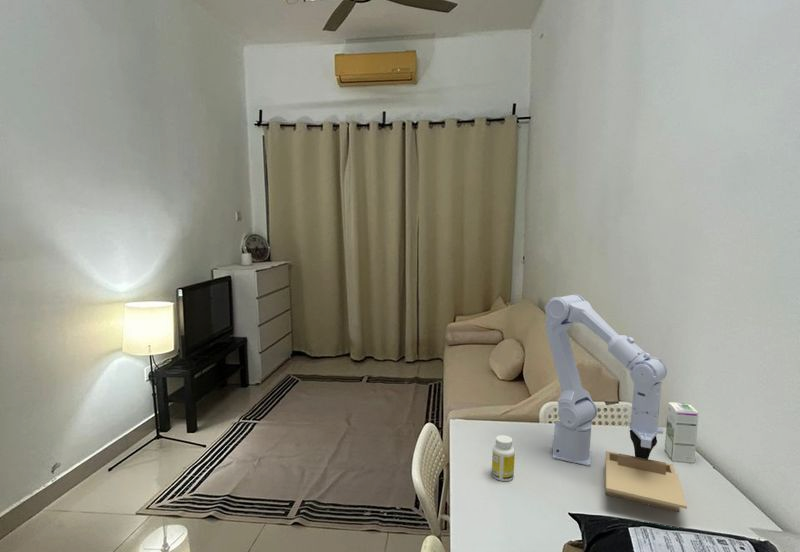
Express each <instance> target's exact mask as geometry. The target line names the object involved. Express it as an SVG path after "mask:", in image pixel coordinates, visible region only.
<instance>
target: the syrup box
mask: <svg viewBox="0 0 800 552" xmlns="http://www.w3.org/2000/svg"><path fill="white" fill-rule="evenodd" d="M667 403H668V404H667V405H668V406H667V414H666V415H667V416H666V429H665V440H664V441H665V442H664V452H665V454H666V455H667V456H668V457H669V458H670V459H671V461H672V462H677V463H689V464H695V463H696V462H695V461H696V452H697V451H696V450H697V449H696V448H697V437H698V436H697V435H698V426H699V425H698V423H699V411H698V410H697V409H696V408H694V407H693V405H691V404H690V403H686V402H670V401H669V402H667Z"/></svg>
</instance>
